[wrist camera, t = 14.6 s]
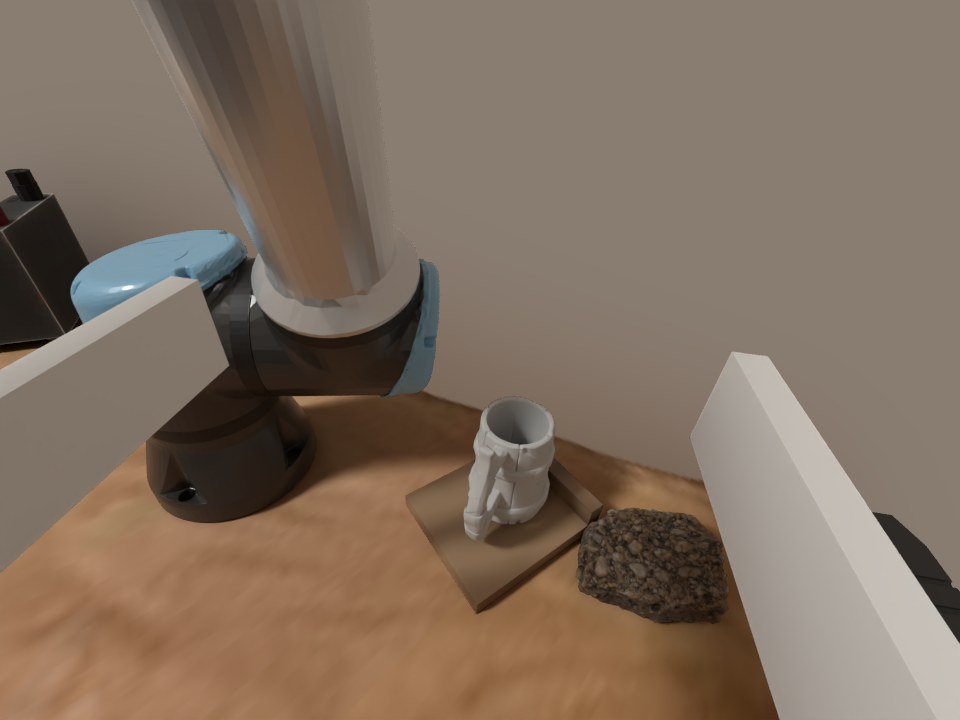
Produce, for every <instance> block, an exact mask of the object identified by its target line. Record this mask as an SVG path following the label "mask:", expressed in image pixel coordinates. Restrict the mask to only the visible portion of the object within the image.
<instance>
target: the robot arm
mask: <svg viewBox="0 0 960 720" xmlns="http://www.w3.org/2000/svg"><path fill="white" fill-rule="evenodd" d="M131 2H132V3H133V5H134V8H135V10H136V11H137V13H138V15H139V17H140V19H141V21H142V23H143V25H144V27H145V29H146V31H147V33H148V35H149V37H150V39H151V41H152V43H153V45H154V47H155V49H156V51H157V53H158V55H159V57H160V59H161V61H162V63H163V65H164V67H165V69H166V70H167V72H168V75H169V76H170V79H171V80H172V82H173V84H174V86H175V88H176V90H177V92H178V94H179V96H180V98H181V100H182V102H183V104H184V106H185V108H186V110H187V112H188V114H189V116H190V118H191V120H192V122H193V124H194V126H195V127H196V129H197V132H198V134H199V136H200V138H201V139H202V141H203V144H204V146H205V147H206V149H207V151H208V153H209V155H210V157H211V159H212V161H213V163H214V165H215V167H216V169H217V171H218V173H219V175H220V177H221V179H222V181H223V183H224V185H225V187H226V189H227V191H228V193H229V195H230V197H231V199H232V201H233V203H234V205H235V207H236V209H237V211H238V212H239V215H240V216H241V218H242V221H243V222H244V224H245V226H246V228H247V230H248V232H249V234H250V236H251V238H252V240H253V242H254V244H255V246H256V248H257V250H258V252H259V253H258V255H257V257H256V258H249V257H247V256H246V254H247V248H246V246H245V245H243V243H242V242H241V240H240V239H239V238H238V237H237V236H236V235H234V234H232V233H227V232H225V231H220V230H198V231H188V232H182V233H176V234H170V235H165V236H160V237H156V238H152V239H148V240H145V241H141V242H138V243H135V244H132V245H129V246H126V247H123V248H121V249H118V250H116V251H113V252H111V253H109V254H107V255H105V256H103V257H101V258H99V259H97V260H95V261H94V262H92V263H90V264H89V265H87V266H86V267H85V268H84V269H82V270H81V271H80V272H79V273H78V275H77V276H76V277H75V279H74V281H73V282H72V285H71V299H72V301H73V304H74V306H75V308H76V310H77V312H78V314H79V316H80V318H81V320H82V323H83V325H81V326H79V327H77V328H75V329H73V330H72V331H70V332H68V333H66V334H64V335H63V336H61V337H59V338H57V339H55V340H53V341H52V342H50V343H48V344H46V345H44V346H43V347H41V348H39V349H37V350H35V351H33V352H32V353H30V354H28V355H26V356H24V357H23V358H21V359H19V360H17V361H15V362H13V363H12V364H10V365H8V366H6V367H4V368H2V369H1V370H0V573H1V572H2V571H3V570H4V569H6V568H7V567H8V566H9V565H10V564H11V563H12V562H13V561H14V560H16V559H17V558H18V557H19V556H20V555H21V554H22V553H23V552H24V551H25V550H27V549H28V548H29V547H30V546H31V545H32V544H33V543H34V542H35V541H36V540H38V539H39V538H40V537H41V536H42V535H43V534H44V533H45V532H46V531H47V530H49V529H50V528H51V527H52V526H53V525H54V524H55V523H56V522H57V521H58V520H60V519H61V518H62V517H63V516H64V515H65V514H66V513H67V512H68V511H69V510H71V509H72V508H73V507H74V506H75V505H76V504H77V503H78V502H79V501H80V500H82V499H83V498H84V497H85V496H86V495H87V494H88V493H89V492H90V491H92V490H93V489H94V488H95V487H96V486H97V485H98V484H99V483H100V482H101V481H103V480H104V479H105V478H106V477H107V476H108V475H109V474H110V473H111V472H112V471H114V470H115V469H116V468H117V467H118V466H119V465H120V464H121V463H122V462H123V461H125V460H126V459H127V458H128V457H129V456H130V455H131V454H132V453H133V452H134V451H136V450H137V449H138V448H139V447H140V446H141V445H142V444H143V443H144V442H145V441H146V464H147V479H148V483H149V486H150V488H151V490H152V492H153V493H154V495H155V497H156V498H157V500H158V501H159V503H160V504H161V506H162V507H163V508H164V509H165V510H166V511H167V512H169V513H170V514H172V515H174V516H176V517H178V518H181V519H184V520H188V521H193V522H219V521H226V520H231V519H235V518H239V517H242V516H245V515H248V514H251V513H253V512H256V511H258V510H260V509H262V508H264V507H266V506H268V505H270V504H271V503H273V502H275V501H276V500H278V499H279V498H281V497H282V496H283V495H285V494H286V493H287V492H289V491H290V490H291V489H292V488H293V487H294V486H295V485H296V484H297V483H298V482H299V481H300V480H301V479H302V477H303V476H304V475H305V473H306V472H307V470H308V469H309V467H310V465H311V463H312V461H313V458H314V455H315V450H316V440H315V436H314V432H313V428H312V424H311V422H310V419H309V417H308V416H307V414H306V413H305V412H304V410H303V409H302V408H301V407H300V405H299V404H298V403H297V402H296V401H295V399H294V398H293V397H292V396H351V395H380V396H381V397H391V396H393V395H399V394H413V393H417V392H419V391H421V390H423V389H424V388H425V387H426V386H427V384H428V382H429V380H430V378H431V374H432V370H433V364H434V359H435V351H436V340H435V339H436V337H437V329H438V320H439V274H438V270H437V268H436V266H435V265H434V264H433V263H431V262H426V261H424V260H423V259H418V256H417V252H416V249H415V247H414V245H413V244H412V242H411V240H410V239H409V238H408V237H407V236H406V235H405V234H404V233H403V232H402V231H401V230H400V229H399V228H397V227H396V226H394V220H393V211H392V202H391V194H390V185H389V177H388V168H387V160H386V151H385V142H384V134H383V126H382V117H381V108H380V100H379V92H378V83H377V74H376V66H375V57H374V49H373V40H372V32H371V23H370V16H369V15H370V14H369V6H368V0H131ZM690 440H691V444H692V447H693V450H694V453H695V456H696V459H697V462H698V465H699V469H700V472H701V475H702V478H703V481H704V484H705V487H706V491H707V494H708V497H709V500H710V503H711V506H712V509H713V513H714V516H715V519H716V522H717V525H718V528H719V531H720V534H721V538H722V541H723V544H724V547H725V550H726V553H727V556H728V560H729V563H730V566H731V569H732V572H733V575H734V578H735V581H736V585H737V588H738V591H739V594H740V597H741V600H742V603H743V607H744V610H745V613H746V616H747V619H748V622H749V625H750V628H751V632H752V635H753V638H754V641H755V644H756V647H757V650H758V654H759V657H760V660H761V663H762V666H763V669H764V672H765V676H766V679H767V682H768V685H769V688H770V691H771V694H772V697H773V701H774V704H775V707H776V710H777V713H778V716H779V719H780V720H960V591H959V590H958V589H957V588H953V587H952V585H951V582H952V581H951V579H950V578H949V576H948V575H947V574H946V572H945V571H944V570H943V568H942V567H941V566H940V564H939V563H938V561H937V560H936V559H935V557H934V556H933V555H932V553H931V552H930V551H929V549H928V548H927V546H925V545H924V544H923V543H922V542H921V541H920V540H919V539H918V538H917V537H915V536H914V535H913V534H912V533H911V532H910V531H909V530H908V529H906V528H905V527H904V526H903V525H902V524H901V523H900V522H899V521H898V520H896V519H895V518H894V517H893V516H892V515H887V514H881V513H874V512H871V510H870V509H869V507H868V506H867V505H866V503H865V501H864V500H863V498H862V497H861V495H860V494H859V492H858V491H857V489H856V488H855V486H854V485H853V483H852V482H851V481H850V479H849V478H848V476H847V474H846V473H845V471H844V470H843V468H842V467H841V465H840V464H839V462H838V461H837V459H836V458H835V456H834V455H833V453H832V452H831V450H830V449H829V448H828V446H827V445H826V443H825V441H824V440H823V438H822V437H821V436H820V434H819V432H818V431H817V429H816V428H815V427H814V425H813V423H812V422H811V420H810V419H809V417H808V416H807V414H806V413H805V412H804V410H803V409H802V407H801V406H800V404H799V403H798V401H797V400H796V398H795V396H794V395H793V393H792V392H791V390H790V389H789V388H788V386H787V385H786V383H785V382H784V380H783V378H782V377H781V376H780V374H779V372H778V371H777V369H776V368H775V367H774V365H773V364H772V362H771V360H770V359H769V357H767V356H760V355H753V354H745V353H738V352H732V353H731V355H730V357H729V359H728V361H727V363H726V365H725V367H724V369H723V371H722V373H721V375H720V377H719V379H718V381H717V383H716V385H715V387H714V389H713V391H712V393H711V395H710V397H709V399H708V401H707V403H706V405H705V407H704V410H703V411H702V414H701V415H700V417H699V419H698V421H697V423H696V425H695V427H694V429H693V431H692V433H691V435H690Z"/></svg>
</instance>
